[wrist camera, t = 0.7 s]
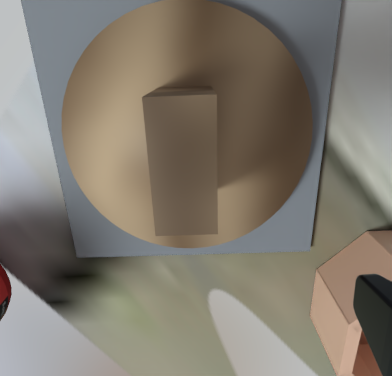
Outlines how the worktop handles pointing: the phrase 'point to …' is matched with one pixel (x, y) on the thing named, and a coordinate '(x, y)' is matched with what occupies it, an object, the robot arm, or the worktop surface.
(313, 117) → the mat
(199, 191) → the lid
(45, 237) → the worktop surface
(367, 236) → the bowl
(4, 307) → the canned food
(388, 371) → the robot arm
